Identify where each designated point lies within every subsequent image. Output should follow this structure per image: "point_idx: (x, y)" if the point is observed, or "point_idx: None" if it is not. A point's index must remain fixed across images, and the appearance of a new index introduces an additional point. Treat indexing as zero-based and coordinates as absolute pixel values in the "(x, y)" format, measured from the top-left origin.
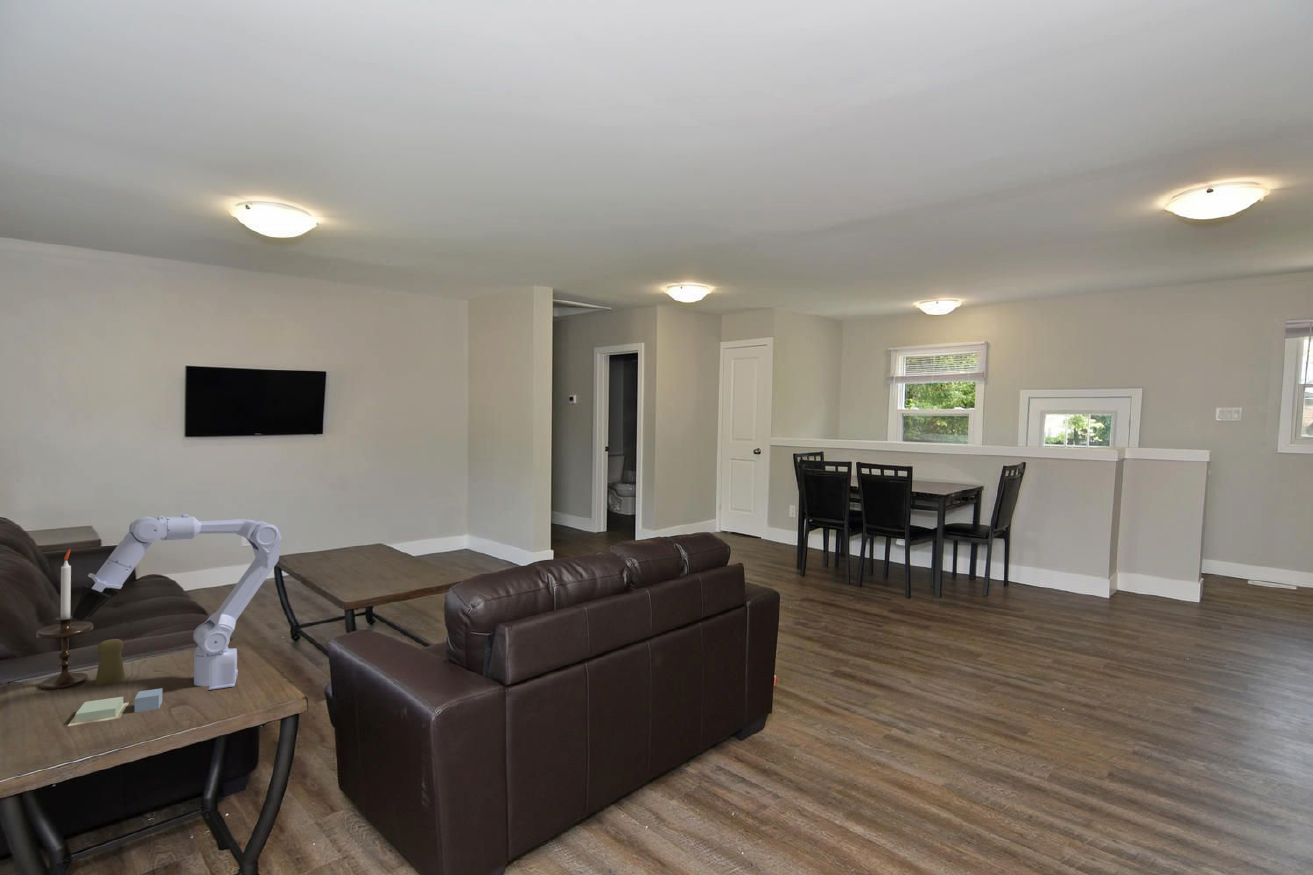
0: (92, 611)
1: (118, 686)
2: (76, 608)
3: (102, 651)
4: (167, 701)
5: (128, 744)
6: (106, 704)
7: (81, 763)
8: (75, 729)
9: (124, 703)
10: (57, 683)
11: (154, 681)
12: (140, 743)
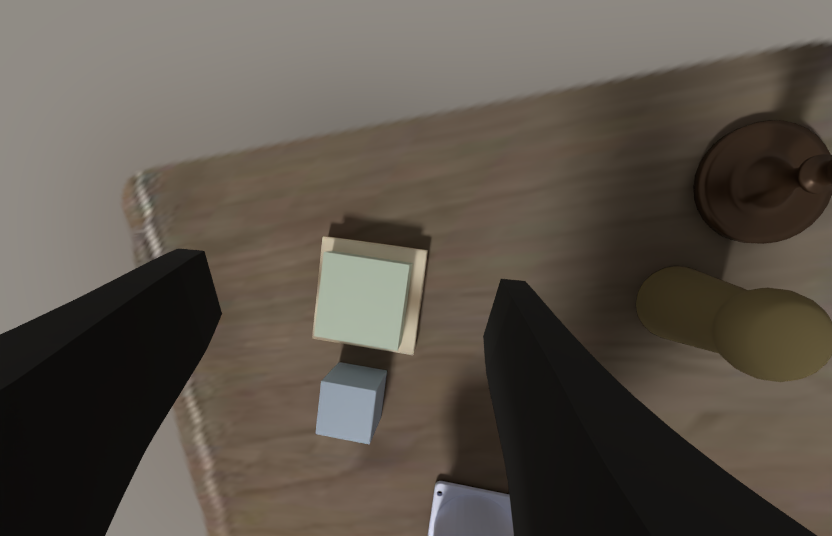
0: (494, 369)
1: (613, 324)
2: (88, 295)
3: (727, 306)
4: (408, 429)
5: None
6: (356, 315)
7: None
8: None
9: (409, 346)
10: (740, 167)
11: None
12: None
